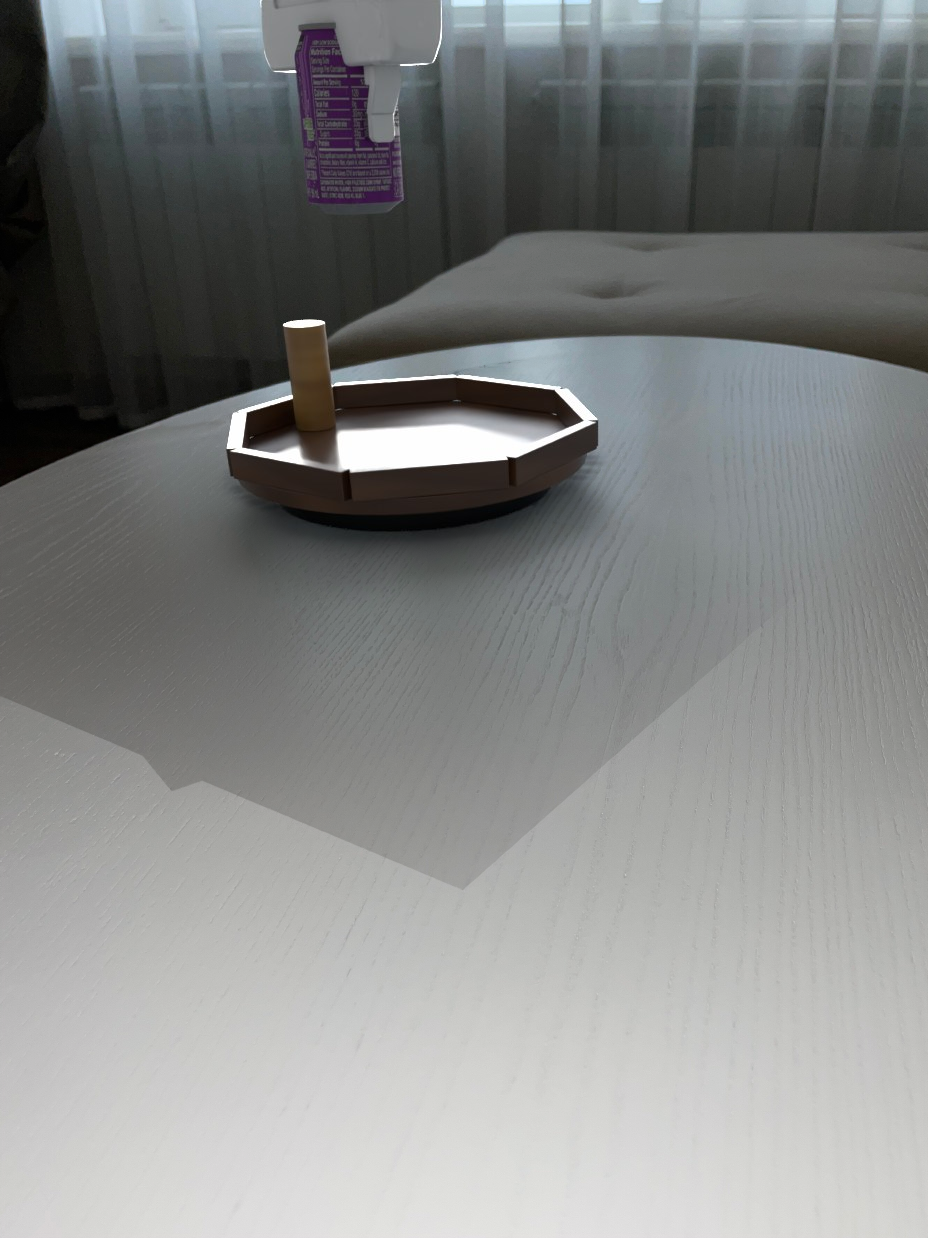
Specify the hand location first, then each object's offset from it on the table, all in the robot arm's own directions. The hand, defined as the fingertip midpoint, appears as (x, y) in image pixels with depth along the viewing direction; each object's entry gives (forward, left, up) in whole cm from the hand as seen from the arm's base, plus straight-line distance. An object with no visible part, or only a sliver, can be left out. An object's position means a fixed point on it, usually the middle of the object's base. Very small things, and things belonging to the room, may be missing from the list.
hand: (352, 141), depth 80 cm
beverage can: (0, 0, -5) cm, 5 cm away
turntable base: (+26, -12, -17) cm, 33 cm away
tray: (+26, -12, -16) cm, 33 cm away
